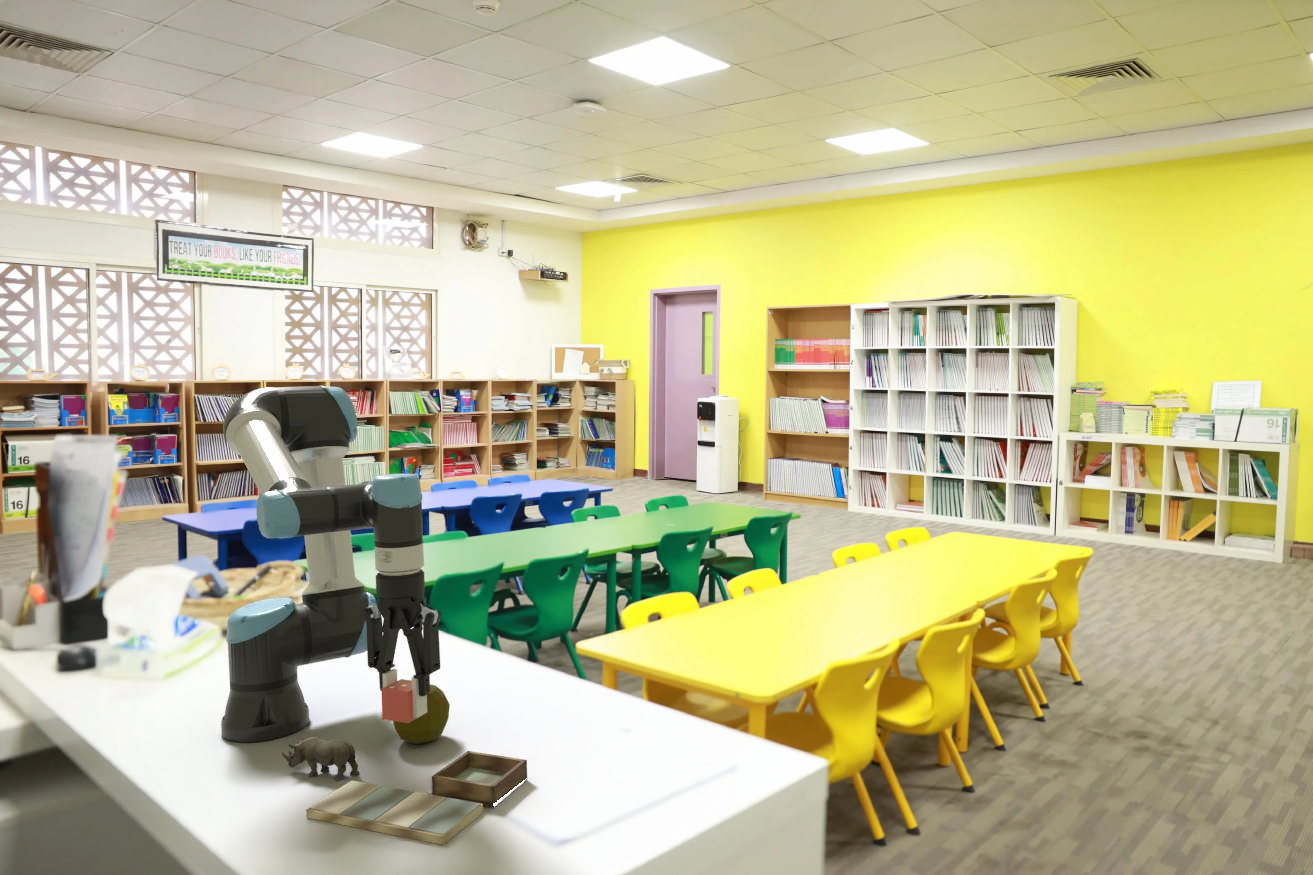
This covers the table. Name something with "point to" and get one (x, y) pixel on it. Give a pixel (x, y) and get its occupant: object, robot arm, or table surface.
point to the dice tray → (479, 777)
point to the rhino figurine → (323, 756)
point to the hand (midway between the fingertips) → (405, 712)
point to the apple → (426, 720)
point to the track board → (396, 811)
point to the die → (398, 702)
